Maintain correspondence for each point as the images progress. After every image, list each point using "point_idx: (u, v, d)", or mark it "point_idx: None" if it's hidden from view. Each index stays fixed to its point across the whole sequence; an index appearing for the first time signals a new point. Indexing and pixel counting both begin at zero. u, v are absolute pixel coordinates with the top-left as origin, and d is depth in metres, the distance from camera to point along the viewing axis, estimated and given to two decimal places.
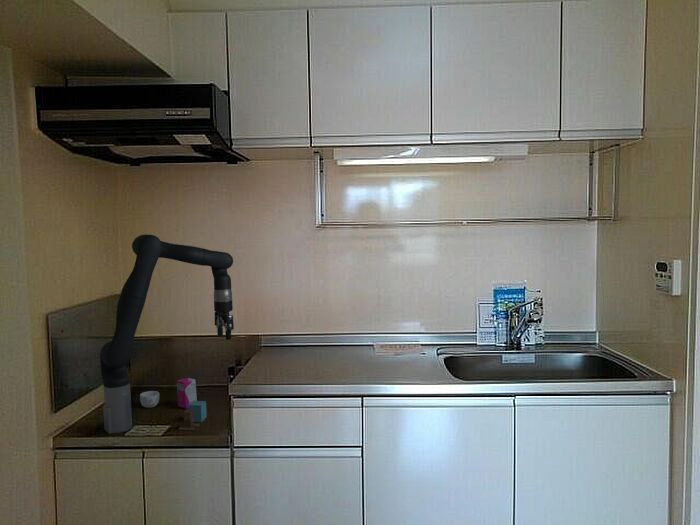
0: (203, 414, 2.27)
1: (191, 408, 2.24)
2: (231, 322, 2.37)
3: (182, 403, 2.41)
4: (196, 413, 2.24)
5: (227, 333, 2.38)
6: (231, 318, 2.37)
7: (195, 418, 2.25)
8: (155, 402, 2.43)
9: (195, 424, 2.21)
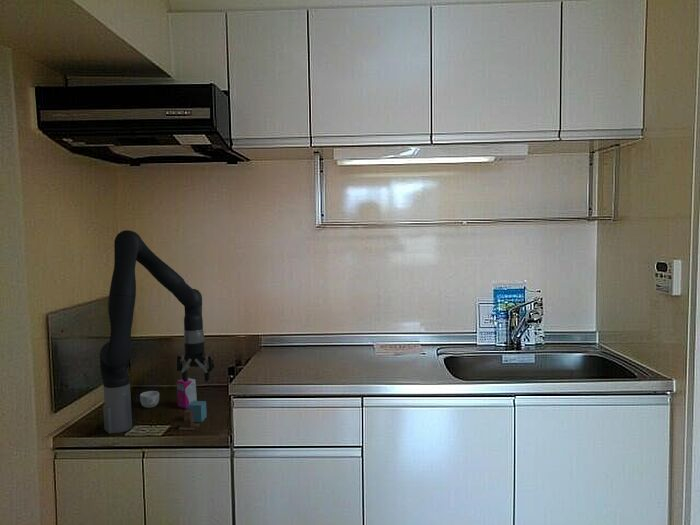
0: (203, 414, 2.27)
1: (191, 408, 2.24)
2: None
3: (182, 403, 2.41)
4: (196, 413, 2.24)
5: None
6: None
7: (195, 418, 2.25)
8: (155, 402, 2.43)
9: (195, 424, 2.21)
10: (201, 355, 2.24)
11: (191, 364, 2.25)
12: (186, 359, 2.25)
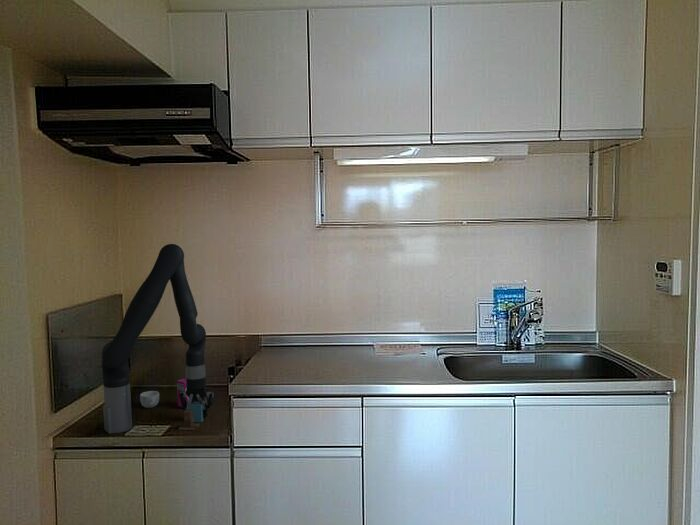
0: None
1: (191, 408, 2.24)
2: None
3: None
4: (196, 413, 2.24)
5: None
6: None
7: (195, 418, 2.25)
8: (155, 402, 2.43)
9: (195, 424, 2.21)
10: (203, 390, 2.25)
11: (194, 399, 2.26)
12: (188, 395, 2.26)
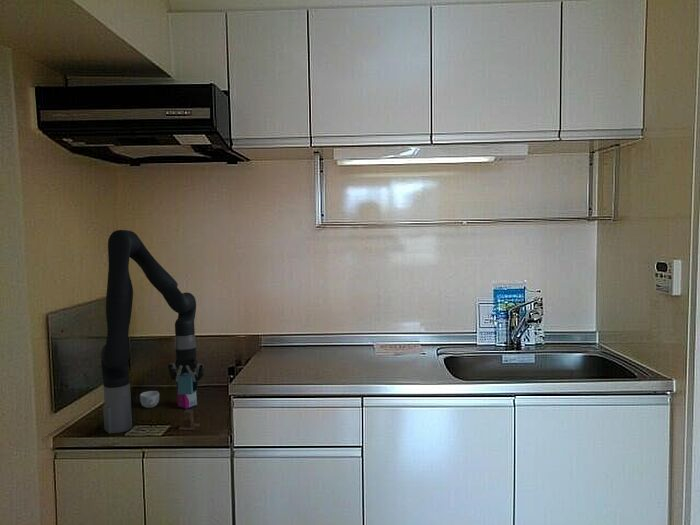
0: None
1: (181, 380, 2.15)
2: None
3: (182, 403, 2.41)
4: (186, 384, 2.15)
5: None
6: None
7: (185, 390, 2.15)
8: (155, 402, 2.43)
9: (195, 424, 2.21)
10: (193, 361, 2.16)
11: (183, 370, 2.16)
12: (177, 367, 2.16)
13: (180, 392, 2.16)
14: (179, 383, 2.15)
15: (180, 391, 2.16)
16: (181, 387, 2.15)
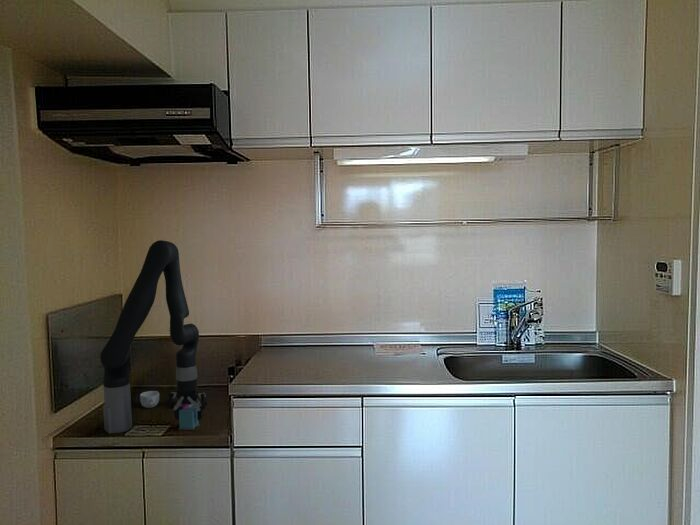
0: (195, 420, 2.18)
1: (182, 414, 2.16)
2: None
3: None
4: (188, 419, 2.16)
5: None
6: None
7: (186, 425, 2.16)
8: (155, 402, 2.43)
9: None
10: (194, 393, 2.16)
11: (183, 402, 2.17)
12: (178, 396, 2.17)
13: (181, 426, 2.17)
14: (181, 418, 2.16)
15: (181, 425, 2.16)
16: (182, 422, 2.16)
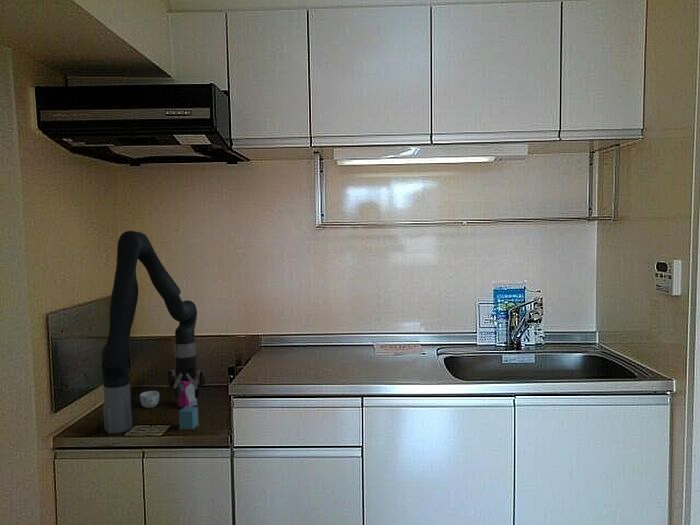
0: (195, 420, 2.18)
1: (182, 414, 2.16)
2: None
3: (182, 403, 2.41)
4: (188, 419, 2.16)
5: None
6: None
7: (186, 425, 2.16)
8: (155, 402, 2.43)
9: None
10: (193, 369, 2.15)
11: (183, 379, 2.16)
12: (177, 374, 2.16)
13: (181, 426, 2.17)
14: (181, 418, 2.16)
15: (181, 425, 2.16)
16: (182, 422, 2.16)
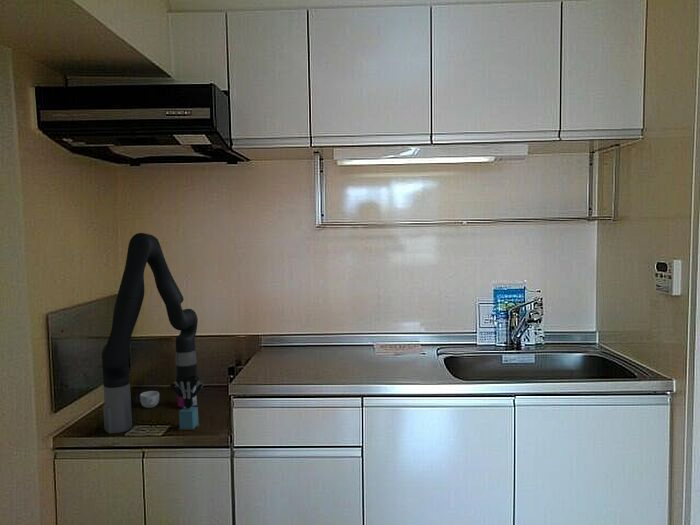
0: (195, 420, 2.18)
1: (182, 414, 2.16)
2: None
3: (182, 403, 2.41)
4: (188, 419, 2.16)
5: None
6: None
7: (186, 425, 2.16)
8: (155, 402, 2.43)
9: None
10: (193, 378, 2.16)
11: (186, 385, 2.17)
12: (179, 385, 2.17)
13: (181, 426, 2.17)
14: (181, 418, 2.16)
15: (181, 425, 2.16)
16: (182, 422, 2.16)
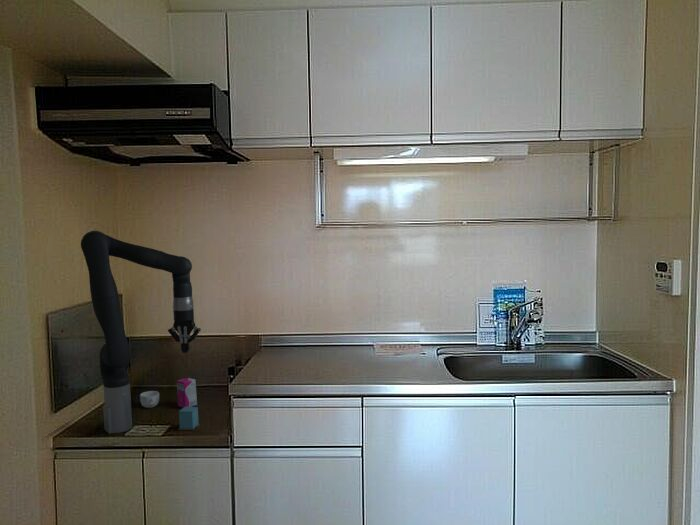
0: (195, 420, 2.18)
1: (182, 414, 2.16)
2: None
3: (182, 403, 2.41)
4: (188, 419, 2.16)
5: None
6: None
7: (186, 425, 2.16)
8: (155, 402, 2.43)
9: None
10: (190, 323, 2.22)
11: (183, 330, 2.23)
12: (176, 330, 2.23)
13: (181, 426, 2.17)
14: (181, 418, 2.16)
15: (181, 425, 2.16)
16: (182, 422, 2.16)
